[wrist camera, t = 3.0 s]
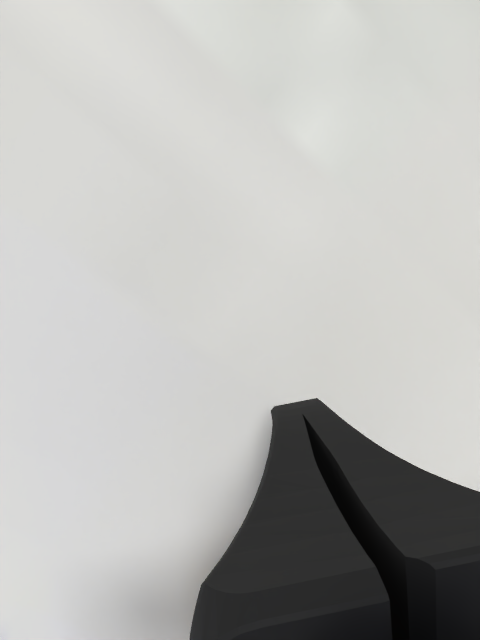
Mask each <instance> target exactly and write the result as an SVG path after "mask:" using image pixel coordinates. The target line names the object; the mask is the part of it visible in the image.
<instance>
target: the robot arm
mask: <svg viewBox="0 0 480 640" xmlns="http://www.w3.org/2000/svg"><path fill="white" fill-rule="evenodd" d="M271 414H272V420H273V426H272V437H271V443H270V449H269V454H268V458H267V462H266V466H265V470H264V473H263V476H262V479H261V483H260V485H259V488H258V491H257V493H256V496H255V498H254V501H253V503H252V505H251V507H250V509H249V512H248V514H247V516H246V518H245V520H244V522H243V524H242V526H241V527H240V529H239V531H238V533H237V534H236V536H235V537H234V539H233V541H232V542H231V544H230V546H229V547H228V549H227V551H226V552H225V554H224V555H223V557H222V558H221V559H220V561H219V562H218V563H217V565H216V566H215V567H214V569H213V570H212V571H211V573H210V574H209V575H208V577H207V578H206V579H205V581H204V582H203V583H202V585H201V588H200V591H199V595H198V599H197V603H196V607H195V612H194V616H193V621H192V627H191V633H190V640H480V492H478V491H475V490H472V489H469V488H466V487H464V486H461V485H458V484H456V483H453V482H450V481H448V480H446V479H443V478H441V477H439V476H436V475H434V474H431V473H429V472H427V471H425V470H423V469H420V468H418V467H416V466H414V465H412V464H411V463H409V462H407V461H405V460H403V459H401V458H399V457H397V456H395V455H394V454H392V453H390V452H388V451H387V450H385V449H384V448H382V447H380V446H379V445H377V444H376V443H374V442H373V441H371V440H370V439H368V438H367V437H365V436H364V435H363V434H361V433H360V432H359V431H357V430H356V429H355V428H353V427H352V426H351V425H349V424H348V423H347V422H345V421H344V420H343V419H342V418H340V417H339V416H338V415H337V414H336V413H334V412H333V411H332V410H331V409H330V408H329V407H327V406H326V405H325V404H324V403H323V402H322V401H320V400H319V399H317V398H315V399H310V400H305V401H300V402H295V403H290V404H285V405H280V406H275V407H274V408H273V409H272V410H271Z"/></svg>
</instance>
